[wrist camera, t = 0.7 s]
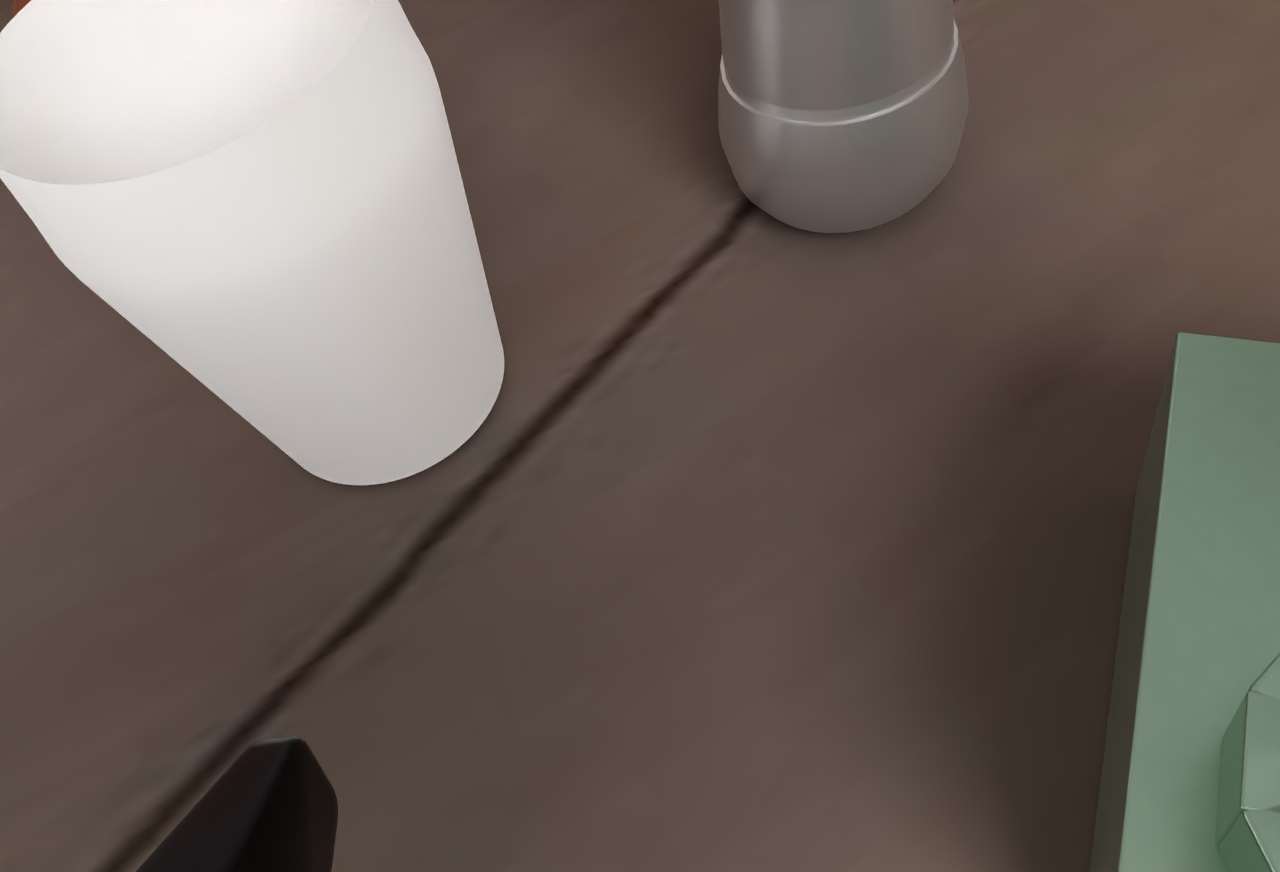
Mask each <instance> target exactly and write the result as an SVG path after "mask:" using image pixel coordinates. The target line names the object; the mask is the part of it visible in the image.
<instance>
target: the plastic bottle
mask: <svg viewBox="0 0 1280 872" xmlns="http://www.w3.org/2000/svg"><path fill="white" fill-rule="evenodd" d="M719 12H720V28H721V44H722V57H721V64H720V73H719V83H718V125H719V134H720V141H721V145H722V147H723V150H724V152H725V154H726V157H727V159H728V162H729V164H730V167H731V169H732V172H733V174H734V176H735V179H736V181H737V183H738V185H739V187H740V189H741V191H742V192H743V193H744V194H745V195H746V196H747V197H748V199H749V200H750V201H751V202H752V203H754V204H755V205H757V206H758V207H759V208H761V209H762V210H764V211H765V212H767V213H768V214H770V215H771V216H773V217H774V218H776V219H777V220H779V221H781V222H783V223H785V224H788V225H790V226H792V227H795V228H799V229H803V230H807V231H811V232H820V233H848V232H855V231H860V230H865V229H870V228H873V227H876V226H879V225H882V224H885V223H888V222H890V221H892V220H894V219H896V218H898V217H900V216H902V215H904V214H906V213H907V212H908V211H910V210H911V209H912V208H914V207H915V206H917V205H918V204H919V203H920V202H921V201H922V200H923V199H924V198H926V197H927V196H928V195H929V194H930V193H931V192H932V191H933V190H934V189H935V188H936V187H937V186H938V184H939V183H940V182H941V181H942V180H943V179H944V178H945V177H946V175H947V174H948V172H949V170H950V169H951V167H952V165H953V164H954V162H955V158H956V155H957V151H958V148H959V144H960V140H961V137H962V133H963V129H964V125H965V121H966V117H967V113H968V109H969V102H968V86H967V78H966V70H965V62H964V54H963V50H962V46H961V41H960V37H959V33H958V29H957V27H956V24H955V21H954V12H953V0H719Z"/></svg>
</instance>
